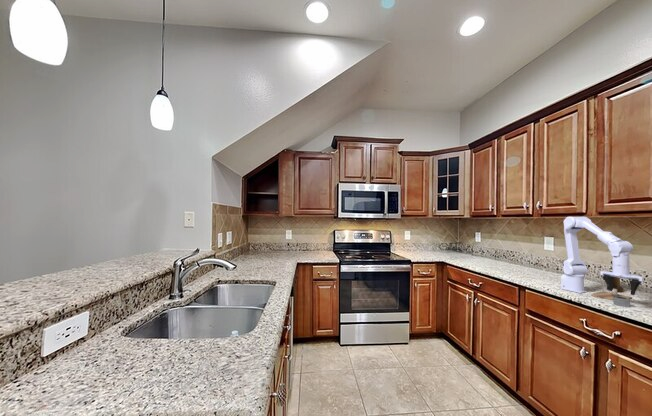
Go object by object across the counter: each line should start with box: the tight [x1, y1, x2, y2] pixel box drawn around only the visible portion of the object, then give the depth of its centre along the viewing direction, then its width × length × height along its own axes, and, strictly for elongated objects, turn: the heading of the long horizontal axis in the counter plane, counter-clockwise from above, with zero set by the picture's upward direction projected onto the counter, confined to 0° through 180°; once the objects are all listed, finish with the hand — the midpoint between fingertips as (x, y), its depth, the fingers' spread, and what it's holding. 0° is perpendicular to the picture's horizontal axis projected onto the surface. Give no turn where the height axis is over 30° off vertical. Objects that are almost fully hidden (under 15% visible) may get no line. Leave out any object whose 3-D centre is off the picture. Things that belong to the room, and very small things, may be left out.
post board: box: [590, 289, 633, 302], centre depth 141 cm, size 11×14×5 cm
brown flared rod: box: [606, 260, 625, 293], centre depth 153 cm, size 7×6×18 cm
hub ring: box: [612, 296, 631, 308], centre depth 129 cm, size 5×5×4 cm
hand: (621, 292), depth 129 cm, fingers open, 7 cm apart
